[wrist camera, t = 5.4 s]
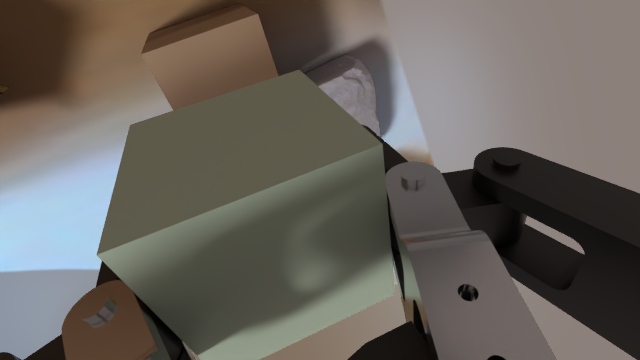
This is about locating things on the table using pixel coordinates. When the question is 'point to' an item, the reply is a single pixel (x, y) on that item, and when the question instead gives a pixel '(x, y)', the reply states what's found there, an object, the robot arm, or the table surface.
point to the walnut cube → (209, 56)
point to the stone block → (349, 88)
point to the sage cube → (251, 218)
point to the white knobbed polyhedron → (3, 89)
